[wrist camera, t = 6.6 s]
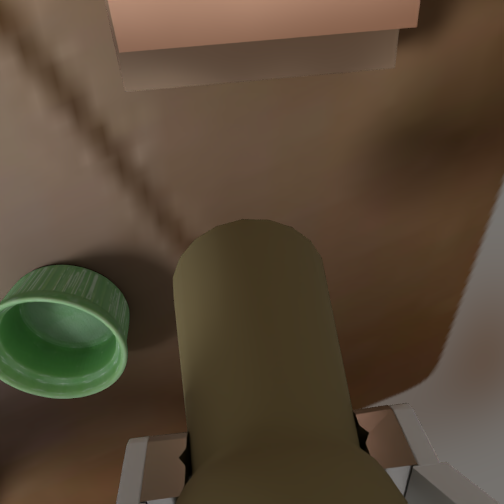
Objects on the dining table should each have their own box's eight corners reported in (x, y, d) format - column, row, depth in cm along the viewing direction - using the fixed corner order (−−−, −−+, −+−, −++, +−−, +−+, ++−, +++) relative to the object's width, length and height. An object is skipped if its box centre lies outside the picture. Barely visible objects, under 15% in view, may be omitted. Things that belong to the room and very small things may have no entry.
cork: (346, 232, 15) (565, 595, 6) (301, 349, 18) (400, 713, 9) (183, 206, 14) (140, 607, 5) (163, 336, 17) (113, 740, 8)
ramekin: (58, 365, 32) (38, 414, 29) (-24, 283, 28) (-61, 329, 24) (159, 329, 31) (152, 375, 28) (91, 236, 26) (72, 277, 23)
